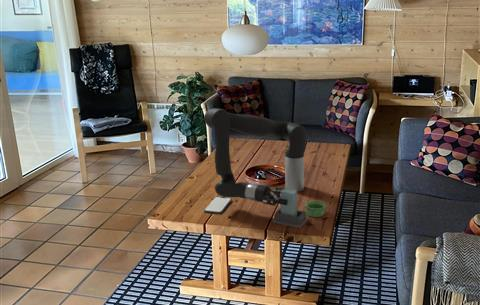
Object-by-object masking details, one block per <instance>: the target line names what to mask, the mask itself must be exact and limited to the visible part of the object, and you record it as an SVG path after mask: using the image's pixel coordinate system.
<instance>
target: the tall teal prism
mask: <svg viewBox="0 0 480 305" xmlns="http://www.w3.org/2000/svg"><path fill="white" fill-rule="evenodd" d="M280 195H281V198H280V199H285V200H288V204H287V205H282V204H280V208H281V214H286V215H291V216H296V217H297V210H298V191H295V190H290V189H283V190H282V191H281V194H280Z"/></svg>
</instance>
